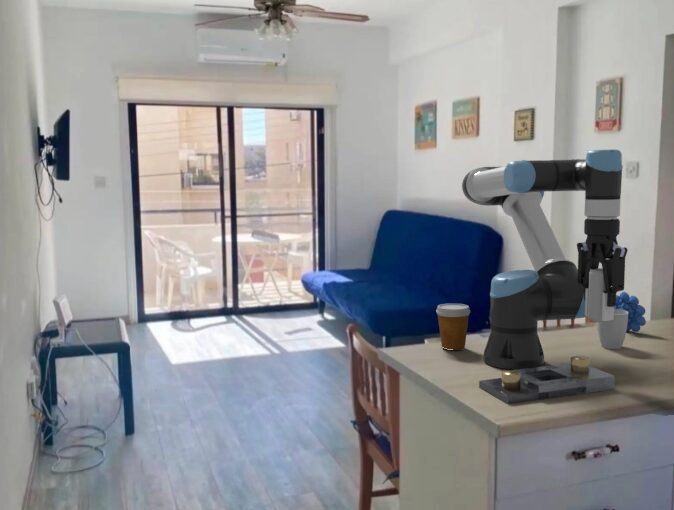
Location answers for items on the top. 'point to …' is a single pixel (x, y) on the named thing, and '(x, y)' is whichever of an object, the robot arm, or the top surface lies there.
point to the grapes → (631, 311)
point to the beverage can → (596, 295)
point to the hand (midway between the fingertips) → (598, 317)
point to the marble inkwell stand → (549, 381)
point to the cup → (613, 330)
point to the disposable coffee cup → (453, 325)
